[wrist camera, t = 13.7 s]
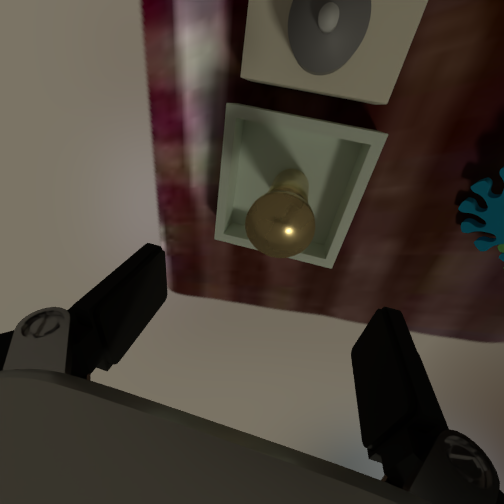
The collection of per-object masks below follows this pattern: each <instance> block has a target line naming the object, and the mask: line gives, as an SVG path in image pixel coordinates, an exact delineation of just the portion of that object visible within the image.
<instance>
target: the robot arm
mask: <svg viewBox="0 0 504 504" xmlns="http://www.w3.org/2000/svg"><path fill="white" fill-rule="evenodd" d="M166 298H167V279H166V262H165V252H164V251H163V250H162V248H161V247H160V246H157V245H154V244H150V243H147V244H145V245H144V246H143V247H142V248H140V249H139V250H138V251H137V252H136V253H134V254H133V255H132V256H131V257H130V258H129V259H127V260H126V261H125V262H124V263H123V264H121V265H120V266H119V267H118V268H117V269H115V271H113V272H112V273H111V274H110V275H108V276H107V277H106V278H105V279H104V280H102V281H101V282H100V283H99V284H98V285H97V286H95V287H94V288H93V289H92V290H90V291H89V292H88V293H87V294H86V295H85V296H83V297H82V298H81V299H80V300H79V301H77V302H76V303H75V304H74V305H73V306H72V307H71V308H70V309H69V310H65V309H63V308H59V307H50V308H45V309H41V310H38V311H35V312H33V313H31V314H29V315H28V316H26V317H25V318H23V319H22V320H21V321H20V322H19V323H18V325H17V326H16V328H15V330H13V331H10V332H6V333H2V334H0V504H504V493H503V492H501V490H500V489H499V488H500V481H499V478H498V475H497V471H496V470H495V468H494V466H493V464H492V462H491V461H490V459H489V458H488V457H487V455H486V454H485V453H484V451H483V450H482V449H481V448H480V447H479V446H478V445H477V444H476V443H475V442H474V441H472V440H471V439H470V438H468V437H467V436H465V435H464V434H462V433H459V432H458V431H454V430H449V429H448V426H447V424H446V421H445V418H444V416H443V414H442V411H441V409H440V406H439V403H438V401H437V398H436V396H435V393H434V391H433V388H432V386H431V383H430V381H429V378H428V376H427V373H426V371H425V368H424V366H423V363H422V360H421V358H420V355H419V354H418V352H417V350H416V348H415V345H414V343H413V340H412V337H411V335H410V332H409V330H408V327H407V325H406V322H405V320H404V317H403V314H402V313H401V311H399V310H395V309H392V308H388V307H383V308H382V309H378V310H377V311H376V312H375V314H374V315H373V317H372V318H371V320H370V322H369V323H368V325H367V326H366V328H365V329H364V331H363V333H362V334H361V336H360V337H359V339H358V340H357V342H356V343H355V345H354V346H353V348H352V352H351V359H352V366H353V374H354V382H355V389H356V397H357V405H358V412H359V420H360V428H361V436H362V442H363V445H364V447H366V448H367V450H368V457H369V459H371V460H374V461H377V462H380V463H382V464H383V470H384V474H385V475H384V477H383V478H382V480H378V479H375V478H372V477H370V476H367V475H364V474H362V473H359V472H356V471H354V470H351V469H348V468H345V467H343V466H340V465H337V464H334V463H332V462H329V461H326V460H323V459H320V458H317V457H314V456H311V455H309V454H305V453H303V452H300V451H297V450H294V449H291V448H288V447H286V446H283V445H280V444H277V443H274V442H271V441H268V440H265V439H262V438H260V437H257V436H254V435H251V434H248V433H245V432H242V431H239V430H236V429H233V428H230V427H227V426H224V425H222V424H218V423H216V422H213V421H210V420H207V419H204V418H201V417H198V416H195V415H192V414H189V413H186V412H184V411H181V410H178V409H175V408H172V407H169V406H166V405H162V404H160V403H157V402H154V401H151V400H148V399H145V398H142V397H139V396H136V395H133V394H130V393H127V392H124V391H121V390H118V389H115V388H112V387H109V386H105V385H102V384H99V383H96V382H93V381H90V374H91V373H92V372H93V370H94V369H95V368H100V369H102V370H105V371H108V370H109V369H110V367H111V366H112V365H113V364H117V363H118V362H119V361H120V360H121V358H122V357H123V356H124V354H125V353H126V352H127V351H128V349H129V348H130V347H131V345H132V344H133V343H134V341H135V340H136V338H137V337H138V336H139V335H140V333H141V332H142V331H143V329H144V328H145V327H146V325H147V324H148V323H149V322H150V320H151V319H152V318H153V316H154V315H155V313H156V312H157V311H158V310H159V308H160V307H161V306H162V304H163V303H164V302H165V300H166Z"/></svg>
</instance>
